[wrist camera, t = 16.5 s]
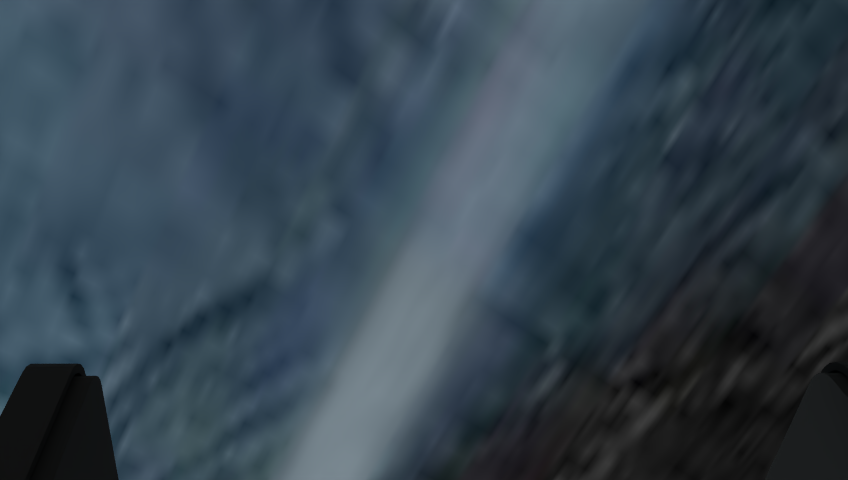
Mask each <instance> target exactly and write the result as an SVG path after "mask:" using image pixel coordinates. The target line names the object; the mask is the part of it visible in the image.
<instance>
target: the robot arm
mask: <svg viewBox="0 0 848 480" xmlns="http://www.w3.org/2000/svg"><path fill="white" fill-rule="evenodd" d="M0 480H118V474H117V469H116V463H115V457H114V452H113V446H112V441H111V435H110V430H109V424H108V419H107V413H106V407H105V402H104V396H103V391H102V385H101V381H100V379H99V377H98V376H86V374H85V371H84V368H83V367H82V365H81V364H30V365H28V366H27V367H26V368H25V369H24V371H23V372H22V374H21V376H20V378H19V380H18V382H17V384H16V386H15V388H14V390H13V392H12V394H11V396H10V398H9V400H8V402H7V404H6V406H5V408H4V410H3V412H2V414H1V416H0ZM765 480H848V362H834V363H829V364H828V365H826V366H825V367H824V369H823V370H822V372H821V373H818V374H816V375H815V376H814V377H813V379H812V380H811V382H810V384H809V386H808V388H807V391H806V393H805V395H804V397H803V399H802V401H801V403H800V406H799V408H798V410H797V412H796V414H795V416H794V419H793V421H792V423H791V425H790V427H789V429H788V431H787V434H786V436H785V438H784V440H783V442H782V444H781V446H780V449H779V451H778V453H777V455H776V457H775V459H774V461H773V464H772V466H771V468H770V470H769V472H768V474H767V477H766V479H765Z"/></svg>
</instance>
